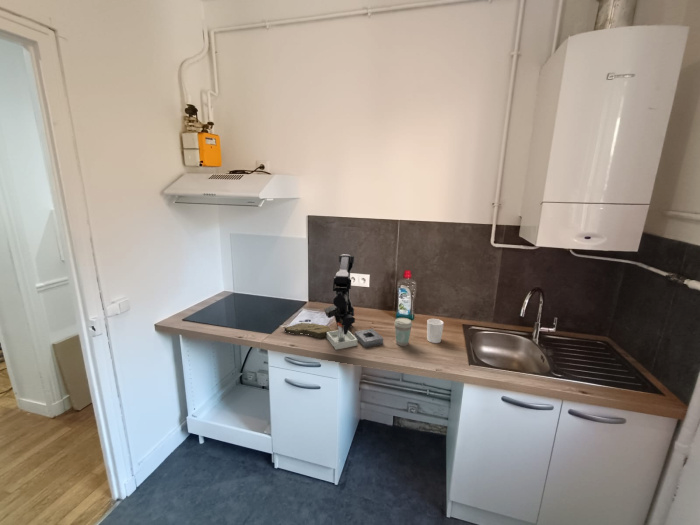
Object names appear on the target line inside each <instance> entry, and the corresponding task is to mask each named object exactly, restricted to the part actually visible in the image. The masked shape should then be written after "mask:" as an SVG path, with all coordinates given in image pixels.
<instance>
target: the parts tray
mask: <svg viewBox="0 0 700 525" xmlns="http://www.w3.org/2000/svg"><path fill="white" fill-rule="evenodd" d="M326 339H327V340H328V341H329V343H330V344H331V346H332V347H333V348H334V349H335V350H341V349H346V348H351V347H356V346H358V340H357V339H356V337H355V334H352V332H351V331H350V329H349V330H348V332H347V334H345V341H344V342H339V341H338V329H337V330H331V332H327V338H326Z"/></svg>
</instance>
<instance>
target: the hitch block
mask: <svg viewBox="0 0 700 525" xmlns="http://www.w3.org/2000/svg"><path fill="white" fill-rule="evenodd" d="M354 336H355V337H356V339H357V342H358V343H359V344H361V345H362V346H363V347H364V348H370V347H374V346H381V345H384V337H382V335H381V334H379V333H378V332H377V331H375V330H374V329H373V328H369V329H362V330H356V331H354Z"/></svg>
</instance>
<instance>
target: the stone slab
mask: <svg viewBox="0 0 700 525" xmlns="http://www.w3.org/2000/svg"><path fill="white" fill-rule="evenodd" d="M282 328H283V329H284V332H285V331H286V332H285V333H287V332H290V333H294V334H293V335H296V334H300V333H303V334H302V335H305V334H309V335H308V336H310V335H312V336H311V337H313V336H314V337H313V338H316V337H317V338H316V339H321V338H326V339H327V332H331V331H332V329H331V328H330V327H329V326H328V325H325V324H319V323H313V322H311V323H310V322H300V323H296V324H292V325H289V326H283V327H282ZM290 333H289V334H290ZM300 335H301V334H300Z"/></svg>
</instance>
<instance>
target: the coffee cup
mask: <svg viewBox="0 0 700 525" xmlns="http://www.w3.org/2000/svg"><path fill="white" fill-rule="evenodd" d="M393 324H394V329H395V342H396V345H398V346H400V347H406V346H408V345H409V341H410V337H411V336H410V335H411V330H412V326H413V323H412V320H411V319H409V318H407V317H398V318H396V319H395V321H394V323H393Z"/></svg>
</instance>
